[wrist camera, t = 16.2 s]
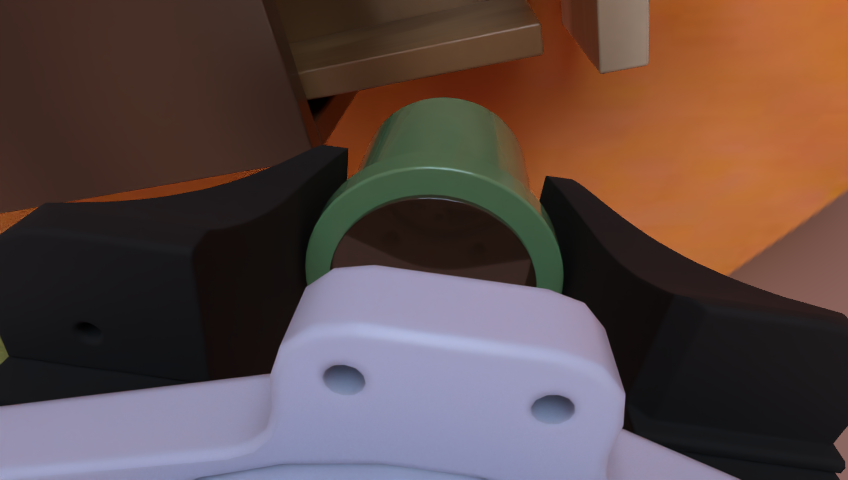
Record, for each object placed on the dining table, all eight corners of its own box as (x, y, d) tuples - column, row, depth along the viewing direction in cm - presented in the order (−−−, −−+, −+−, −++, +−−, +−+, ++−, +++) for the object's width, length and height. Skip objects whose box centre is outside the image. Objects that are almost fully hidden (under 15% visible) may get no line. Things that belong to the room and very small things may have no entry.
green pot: (317, 141, 14) (248, 243, 10) (483, 45, 12) (488, 117, 8) (413, 276, 16) (391, 409, 12) (567, 209, 14) (605, 334, 10)
